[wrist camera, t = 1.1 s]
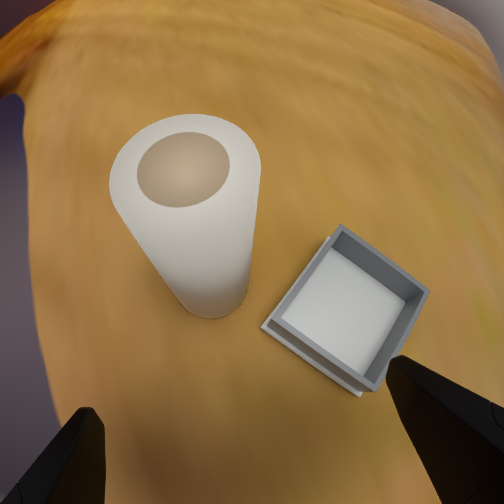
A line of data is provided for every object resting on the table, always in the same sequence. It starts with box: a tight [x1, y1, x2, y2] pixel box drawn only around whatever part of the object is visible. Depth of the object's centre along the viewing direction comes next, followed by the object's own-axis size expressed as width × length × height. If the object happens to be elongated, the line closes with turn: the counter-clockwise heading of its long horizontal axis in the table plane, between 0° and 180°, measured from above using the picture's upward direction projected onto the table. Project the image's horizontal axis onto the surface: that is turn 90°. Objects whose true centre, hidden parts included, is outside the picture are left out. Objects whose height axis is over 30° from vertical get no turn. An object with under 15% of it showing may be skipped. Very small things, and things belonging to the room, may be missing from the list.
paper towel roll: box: [109, 114, 261, 319], centre depth 18 cm, size 6×6×14 cm
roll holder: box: [260, 224, 430, 397], centre depth 22 cm, size 9×9×4 cm
